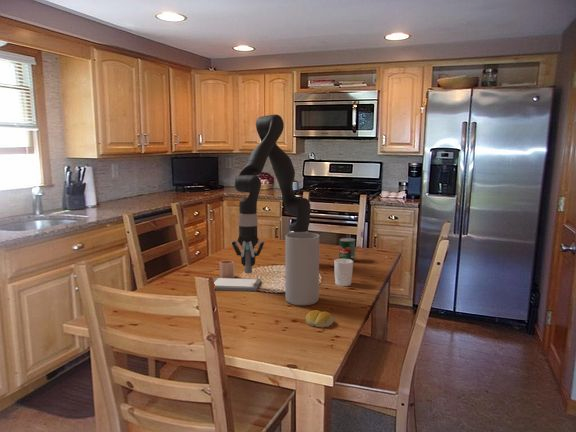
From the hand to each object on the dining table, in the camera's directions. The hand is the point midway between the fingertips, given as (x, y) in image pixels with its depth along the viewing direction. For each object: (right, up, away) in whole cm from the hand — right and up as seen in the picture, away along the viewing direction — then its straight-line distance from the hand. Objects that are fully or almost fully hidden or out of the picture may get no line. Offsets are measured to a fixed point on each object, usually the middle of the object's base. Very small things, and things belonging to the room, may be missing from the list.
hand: (248, 265), depth 179 cm
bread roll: (+27, -15, -36) cm, 48 cm away
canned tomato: (+47, -3, +43) cm, 63 cm away
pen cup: (-11, -7, +13) cm, 18 cm away
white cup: (+40, -9, +5) cm, 41 cm away
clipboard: (-6, -9, +2) cm, 11 cm away
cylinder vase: (+22, -12, -16) cm, 29 cm away
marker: (0, -3, 0) cm, 3 cm away
